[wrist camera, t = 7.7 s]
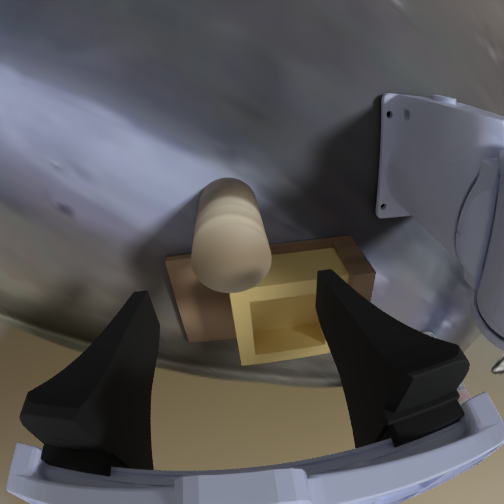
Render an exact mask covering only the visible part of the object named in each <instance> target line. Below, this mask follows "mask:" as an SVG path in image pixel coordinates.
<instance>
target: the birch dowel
mask: <svg viewBox="0 0 504 504" xmlns="http://www.w3.org/2000/svg"><path fill="white" fill-rule="evenodd" d="M271 261H272V256H271V250H270V247H269V243H268V240H267V236H266V233H265V229H264V226H263V222H262V218H261V215H260V211H259V208H258V204H257V201H256V198H255V195H254V192H253V191H252V189H251V188H250V187H249V186H248V185H247V184H246V183H244V182H243V181H241V180H238V179H234V178H221V179H218V180H215V181H213V182H211V183H210V184H209V185H207V186H206V187H205V188H204V190H203V191H202V193H201V195H200V198H199V202H198V209H197V216H196V223H195V230H194V238H193V245H192V253H191V266H192V269H193V272H194V274H195V276H196V277H197V279H198V280H199V281H200V282H201V283H202V284H204V285H205V286H207V287H208V288H210V289H212V290H215V291H218V292H223V293H238V292H242V291H246V290H248V289H251V288H252V287H254V286H256V285H257V284H259V283H260V282H261V281H262V280H263V279H264V278H265V276H266V275H267V273H268V271H269V269H270V266H271Z"/></svg>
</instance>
